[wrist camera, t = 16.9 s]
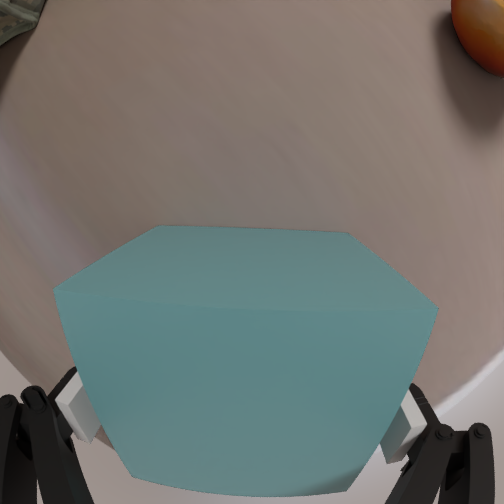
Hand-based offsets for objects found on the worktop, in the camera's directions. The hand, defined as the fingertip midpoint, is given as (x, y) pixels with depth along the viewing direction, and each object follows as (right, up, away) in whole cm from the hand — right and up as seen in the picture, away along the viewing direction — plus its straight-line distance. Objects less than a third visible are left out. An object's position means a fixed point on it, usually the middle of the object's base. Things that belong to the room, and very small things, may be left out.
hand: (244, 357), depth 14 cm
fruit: (+17, +21, -4) cm, 27 cm away
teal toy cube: (0, +2, +2) cm, 3 cm away
